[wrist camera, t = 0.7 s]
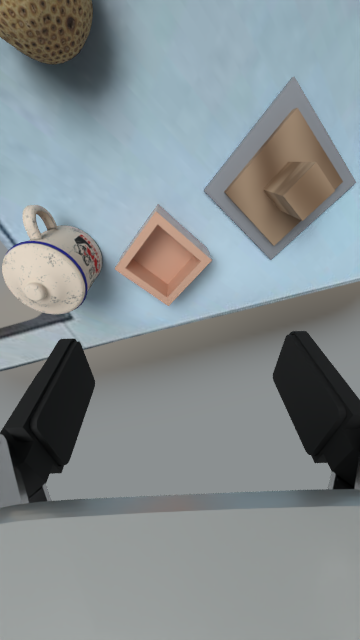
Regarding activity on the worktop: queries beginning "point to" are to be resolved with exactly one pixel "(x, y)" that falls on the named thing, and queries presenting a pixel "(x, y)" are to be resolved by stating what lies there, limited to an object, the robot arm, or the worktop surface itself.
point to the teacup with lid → (51, 265)
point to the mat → (250, 146)
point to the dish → (163, 257)
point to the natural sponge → (46, 27)
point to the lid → (284, 179)
